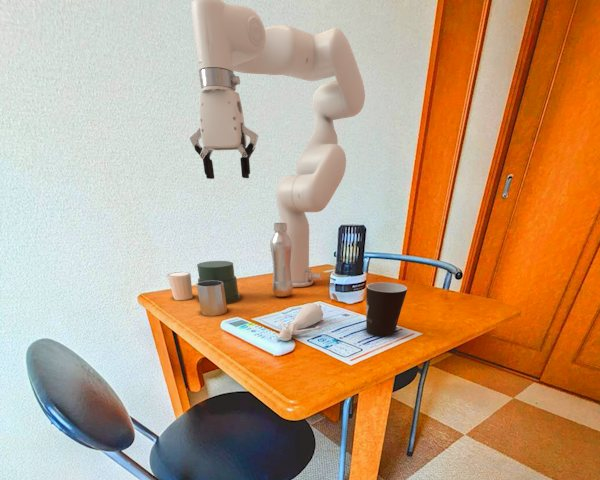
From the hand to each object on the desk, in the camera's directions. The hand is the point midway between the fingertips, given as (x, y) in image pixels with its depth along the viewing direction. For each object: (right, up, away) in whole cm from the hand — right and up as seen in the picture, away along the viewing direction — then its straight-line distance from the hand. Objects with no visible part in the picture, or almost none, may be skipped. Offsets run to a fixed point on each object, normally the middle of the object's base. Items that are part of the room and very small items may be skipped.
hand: (227, 178), depth 79 cm
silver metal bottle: (+13, -24, +19) cm, 33 cm away
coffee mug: (+38, -40, -6) cm, 56 cm away
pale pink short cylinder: (-18, -25, +18) cm, 35 cm away
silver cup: (-5, -33, +6) cm, 33 cm away
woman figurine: (+19, -40, -6) cm, 45 cm away
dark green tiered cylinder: (-6, -26, +16) cm, 31 cm away
